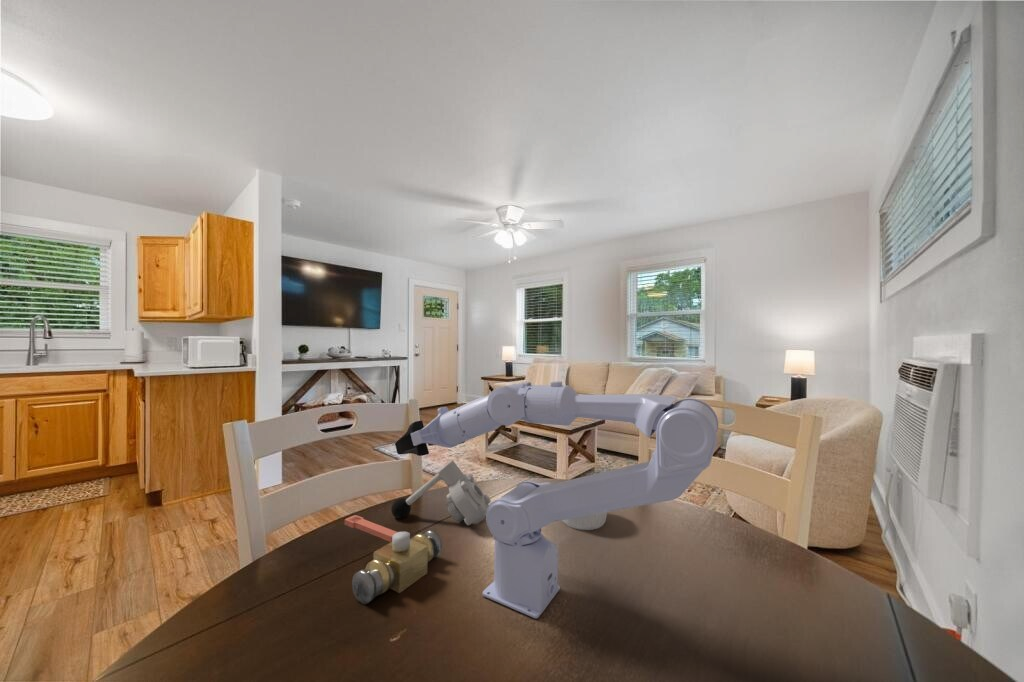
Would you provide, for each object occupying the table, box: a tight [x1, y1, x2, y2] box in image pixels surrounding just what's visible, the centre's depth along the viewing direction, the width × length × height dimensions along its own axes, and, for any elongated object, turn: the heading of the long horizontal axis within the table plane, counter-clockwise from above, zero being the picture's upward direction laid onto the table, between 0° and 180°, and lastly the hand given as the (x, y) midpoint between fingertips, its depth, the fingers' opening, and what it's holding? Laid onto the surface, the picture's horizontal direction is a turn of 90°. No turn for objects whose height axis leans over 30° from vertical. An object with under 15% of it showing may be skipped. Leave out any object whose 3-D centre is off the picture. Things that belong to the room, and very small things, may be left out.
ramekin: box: [561, 512, 608, 531], centre depth 83 cm, size 11×11×5 cm
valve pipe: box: [351, 529, 443, 605], centre depth 62 cm, size 15×6×5 cm, turn 149°
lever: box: [344, 514, 411, 551], centre depth 65 cm, size 15×3×2 cm, turn 59°
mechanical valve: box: [390, 459, 492, 526], centre depth 83 cm, size 10×18×15 cm
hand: (413, 444), depth 70 cm, fingers open, 7 cm apart
